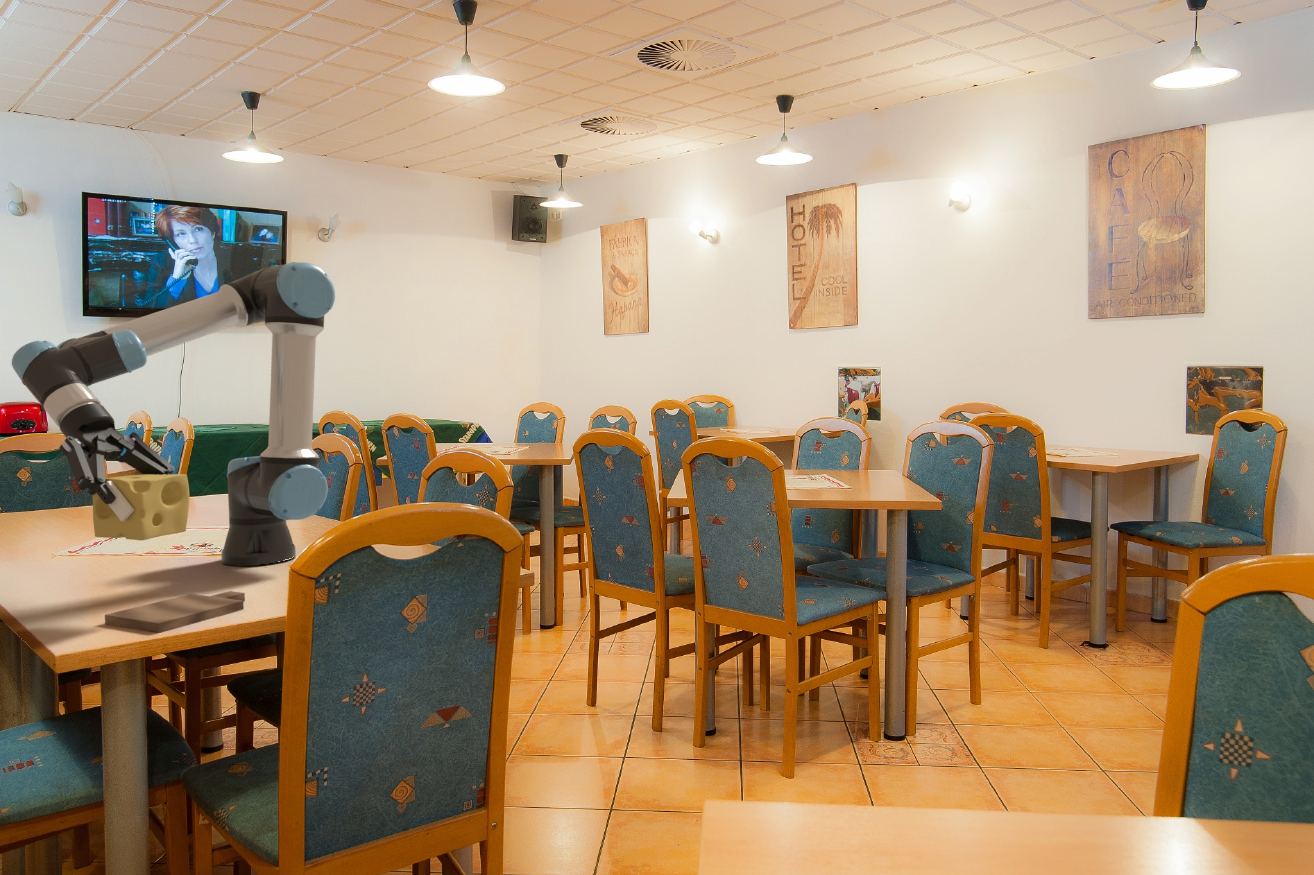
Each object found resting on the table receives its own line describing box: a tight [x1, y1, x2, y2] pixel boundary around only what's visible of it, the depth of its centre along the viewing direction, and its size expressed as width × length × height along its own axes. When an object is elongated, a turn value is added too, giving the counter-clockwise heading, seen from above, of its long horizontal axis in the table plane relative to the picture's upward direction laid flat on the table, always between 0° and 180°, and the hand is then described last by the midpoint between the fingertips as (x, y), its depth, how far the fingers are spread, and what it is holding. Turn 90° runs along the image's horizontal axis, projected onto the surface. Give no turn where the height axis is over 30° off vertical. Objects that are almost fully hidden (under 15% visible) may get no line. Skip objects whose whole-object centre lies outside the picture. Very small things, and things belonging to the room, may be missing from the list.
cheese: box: [92, 473, 190, 541], centre depth 151 cm, size 10×11×10 cm
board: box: [104, 590, 246, 633], centre depth 153 cm, size 20×13×2 cm, turn 156°
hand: (155, 511), depth 150 cm, fingers closed on cheese, 10 cm apart
